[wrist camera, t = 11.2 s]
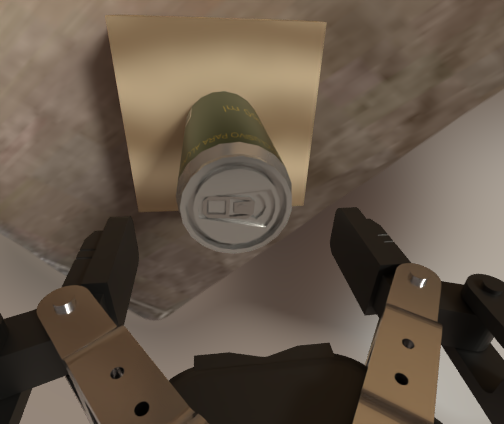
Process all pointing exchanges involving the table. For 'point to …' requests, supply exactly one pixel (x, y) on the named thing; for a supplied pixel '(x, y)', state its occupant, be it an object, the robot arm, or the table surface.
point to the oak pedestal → (212, 88)
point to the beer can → (231, 177)
